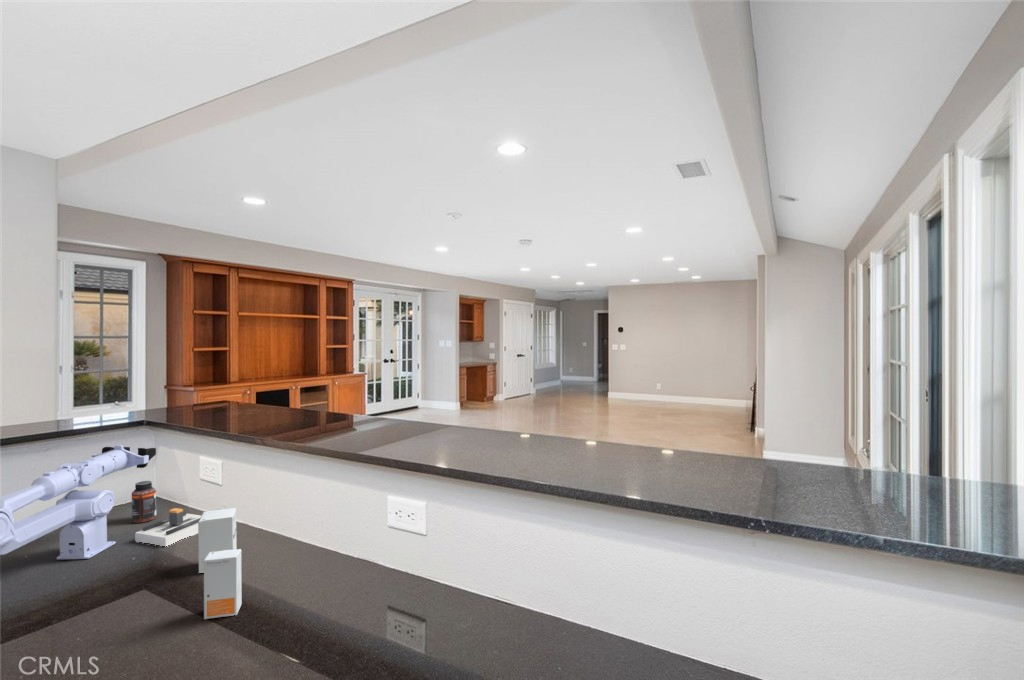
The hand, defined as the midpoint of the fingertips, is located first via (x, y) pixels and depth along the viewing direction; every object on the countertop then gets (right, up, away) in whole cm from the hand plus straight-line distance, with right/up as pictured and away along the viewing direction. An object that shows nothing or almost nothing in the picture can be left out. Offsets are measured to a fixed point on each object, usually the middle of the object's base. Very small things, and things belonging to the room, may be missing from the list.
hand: (141, 450), depth 152 cm
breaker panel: (+16, -21, -8) cm, 28 cm away
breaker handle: (+16, -19, -8) cm, 26 cm away
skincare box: (+51, -23, -48) cm, 74 cm away
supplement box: (+38, -22, -27) cm, 52 cm away
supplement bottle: (-1, -21, +2) cm, 22 cm away
